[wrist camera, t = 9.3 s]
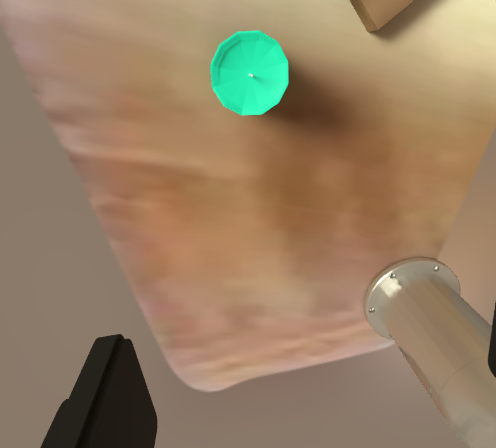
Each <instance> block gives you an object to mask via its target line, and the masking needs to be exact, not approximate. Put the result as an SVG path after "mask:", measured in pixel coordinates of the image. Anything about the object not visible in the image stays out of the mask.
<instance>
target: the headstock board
mask: <svg viewBox="0 0 496 448" xmlns="http://www.w3.org/2000/svg"><path fill="white" fill-rule="evenodd" d="M413 1H414V0H350V2H351V3H352V5H353V7H354V9H355V10H356V12H357V14H358V16H359V17H360V19H361V21H362V23H363V24H364V26H365V28H366V30H367V31H368V32H370V31H376V30H379V29H380V28H381V27H382V26H384V25H385V24H386V23H387V22H388V21H390V20H391V19H392V18H393V17H395V16H396V15H397V14H398V13H399V12H401V11H402V10H403V9H404V8H406V7H407V6H408V5H409V4H410V3H412V2H413Z"/></svg>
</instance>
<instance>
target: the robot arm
mask: <svg viewBox="0 0 496 448" xmlns="http://www.w3.org/2000/svg"><path fill="white" fill-rule="evenodd" d="M364 312H365V315H366V318H367V320H368V322H369V324H370V326H371V327H372V328H373V329H374V330H375V331H376V332H377V333H378V334H380V335H381V336H383V337H385V338H388V339H392V340H394V341H395V343H396V344H397V346H398V347H399V349H400V351H401V352H402V354H403V355H404V357H405V358H406V360H407V362H408V363H409V365H410V366H411V368H412V369H413V371H414V372H415V374H416V376H417V377H418V379H419V380H420V382H421V383H422V385H423V387H424V388H425V390H426V391H427V393H428V394H429V396H430V398H431V399H432V401H433V402H434V404H435V405H436V407H437V409H438V410H439V412H440V413H441V415H442V417H443V418H444V420H445V421H446V423H447V424H448V426H449V427H450V428H451V430H452V431H453V432H454V433H455V434H456V435H457V436H458V437H459V438H460V439H461V440H462V441H463V442H465V443H466V444H467V445H469V446H470V447H472V448H496V303H495V311H494V318H493V325H492V326H490V325H489V324H488V323H487V322H486V321H485V320H484V319H483V318H482V317H481V316H480V315H479V314H478V313H477V312H476V311H475V310H474V309H473V308H472V307H471V306H470V305H469V304H468V303H467V302H466V301H465V300H464V299H463V298H461V297H460V285H459V281H458V279H457V277H456V275H455V274H454V273H453V272H452V270H450V269H449V268H448V267H447V266H446V265H445V264H443V263H441V262H439V261H437V260H434V259H431V258H411V259H407V260H403V261H401V262H398V263H396V264H394V265H392V266H390V267H389V268H387V269H385V270H384V271H383V272H382V273H381V274H380V275H378V277H377V278H376V279H375V280H374V281H373V282H372V284H371V286H370V287H369V289H368V291H367V294H366V297H365V302H364ZM156 433H157V416H156V412H155V409H154V406H153V403H152V400H151V397H150V394H149V391H148V389H147V386H146V382H145V379H144V376H143V373H142V371H141V368H140V364H139V362H138V359H137V356H136V353H135V350H134V347H133V344H132V341H131V340H130V339H124V337H123V336H122V335H121V334H117V335H111V336H106V337H99V338H97V339H96V340H95V342H94V344H93V346H92V348H91V350H90V353H89V355H88V357H87V359H86V362H85V364H84V366H83V368H82V370H81V373H80V375H79V377H78V379H77V382H76V384H75V386H74V388H73V391H72V393H71V395H70V397H69V399H66V400H65V401H64V402H63V403H62V404H61V406H60V407H59V410H58V411H57V413H56V416H55V418H54V420H53V422H52V424H51V426H50V428H49V431H48V433H47V435H46V437H45V439H44V441H43V443H42V446H41V448H154V444H155V439H156Z"/></svg>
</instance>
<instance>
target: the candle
mask: <svg viewBox="0 0 496 448" xmlns="http://www.w3.org/2000/svg"><path fill="white" fill-rule="evenodd" d="M210 68H211V81H212V88H213V90H214V92H215V93H216V95H217V96H218V98H219V99H220V101H221V103H222V104H223V106H224V107H226V108H228V109H230V110H232V111H234V112H236V113H238V114H240V115H262V114H263V113H265V112H266V111H268V110H269V109H271V108H272V107H274V106H275V105H276V104H278V103H279V101H280V99H281V98H282V96H283V94H284V92H285V90H286V88H287V86H288V84H289V81H288V60H287V58H286V56H285V54H284V53H283V51H282V49H281V47H280V45H279V43H278V42H277V41H276V40H274V39H272V38H271V37H269V36H268V35H266V34H264V33H263V32H261V31H241V32H236V33H235V34H234V35H232V36H231V37H229V38H228V39H227V40H225V41H224V42H222V43H221V44H220V45H219V47H218V49H217V51H216V54H215V56H214V58H213V60H212V63H211V65H210Z"/></svg>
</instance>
